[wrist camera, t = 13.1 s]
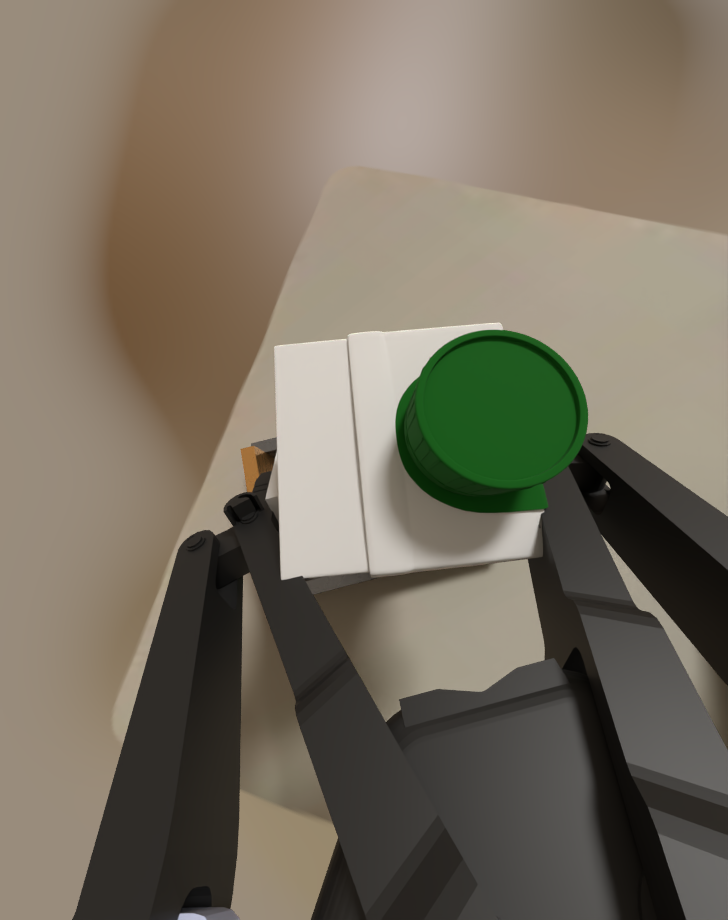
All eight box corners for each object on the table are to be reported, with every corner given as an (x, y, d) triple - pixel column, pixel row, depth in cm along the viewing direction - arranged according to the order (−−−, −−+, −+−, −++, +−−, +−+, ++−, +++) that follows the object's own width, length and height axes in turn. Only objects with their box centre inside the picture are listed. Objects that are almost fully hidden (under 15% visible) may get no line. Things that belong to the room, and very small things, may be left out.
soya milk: (432, 533, 25) (665, 600, 5) (335, 543, 25) (208, 645, 5) (419, 443, 27) (557, 241, 7) (329, 452, 27) (216, 274, 7)
